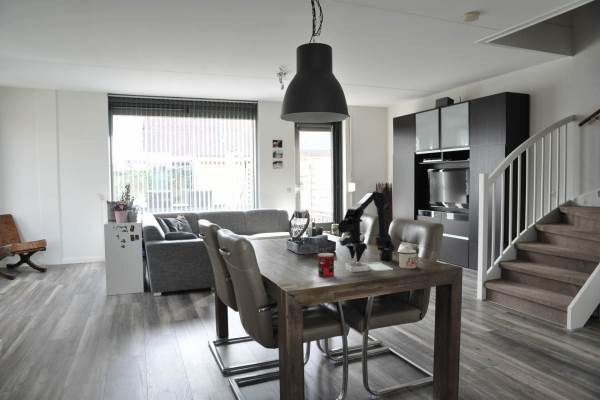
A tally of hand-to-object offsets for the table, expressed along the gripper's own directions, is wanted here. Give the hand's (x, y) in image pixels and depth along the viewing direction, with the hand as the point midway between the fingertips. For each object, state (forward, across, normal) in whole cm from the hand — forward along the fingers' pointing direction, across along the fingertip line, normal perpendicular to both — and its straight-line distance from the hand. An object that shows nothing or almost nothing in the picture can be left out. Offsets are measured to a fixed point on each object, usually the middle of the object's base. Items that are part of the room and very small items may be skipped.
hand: (355, 260), depth 230 cm
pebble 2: (+4, +4, 0) cm, 6 cm away
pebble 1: (+4, 0, 0) cm, 4 cm away
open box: (+5, +2, 0) cm, 6 cm away
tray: (+5, +2, +12) cm, 13 cm away
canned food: (+5, +8, -19) cm, 21 cm away
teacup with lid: (+5, +6, +29) cm, 30 cm away
